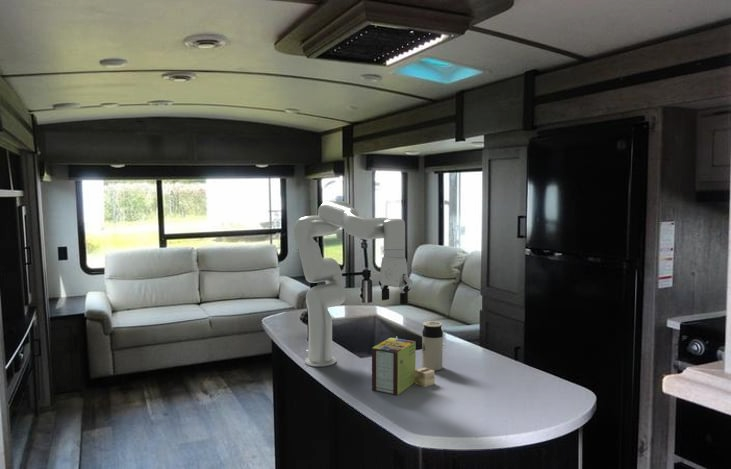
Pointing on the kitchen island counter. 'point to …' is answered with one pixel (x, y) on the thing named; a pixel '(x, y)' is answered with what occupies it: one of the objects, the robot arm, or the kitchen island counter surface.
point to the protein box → (393, 365)
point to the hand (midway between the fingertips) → (394, 301)
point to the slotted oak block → (424, 377)
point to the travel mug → (432, 345)
